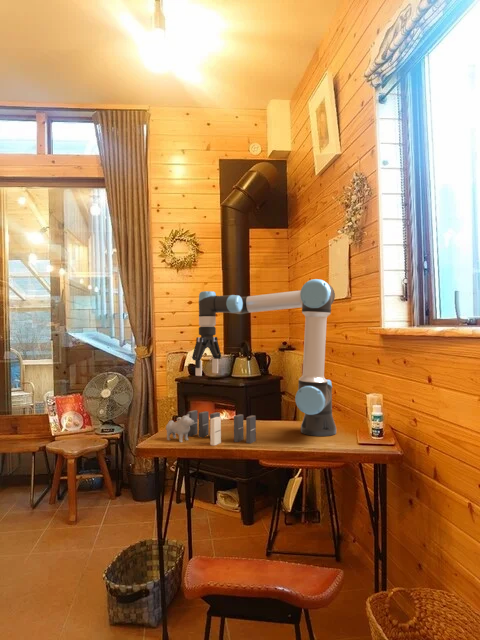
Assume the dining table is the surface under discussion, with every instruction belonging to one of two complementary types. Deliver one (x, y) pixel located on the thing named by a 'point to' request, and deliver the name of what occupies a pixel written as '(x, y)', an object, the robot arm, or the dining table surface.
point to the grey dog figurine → (179, 427)
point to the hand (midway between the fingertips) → (207, 374)
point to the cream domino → (215, 431)
